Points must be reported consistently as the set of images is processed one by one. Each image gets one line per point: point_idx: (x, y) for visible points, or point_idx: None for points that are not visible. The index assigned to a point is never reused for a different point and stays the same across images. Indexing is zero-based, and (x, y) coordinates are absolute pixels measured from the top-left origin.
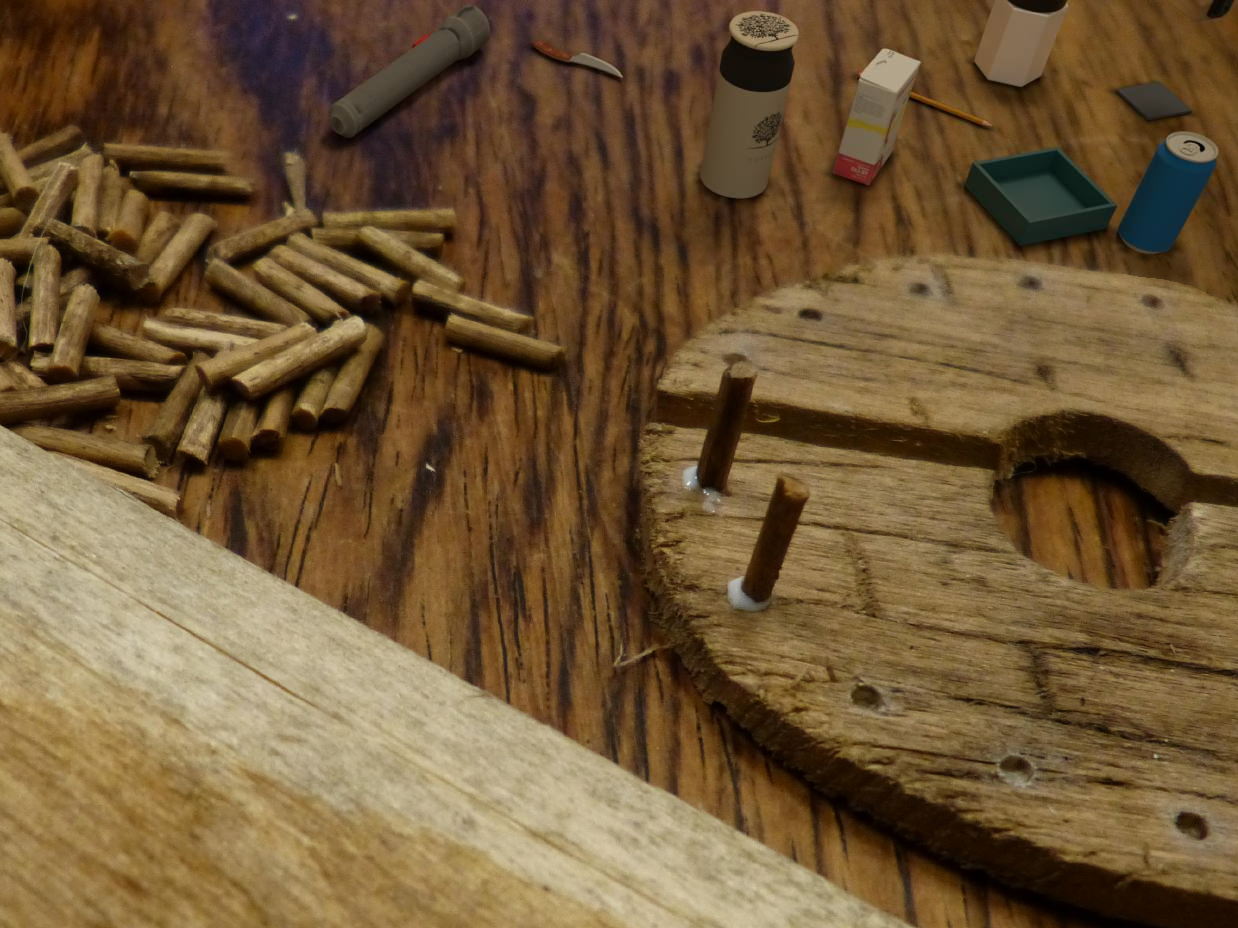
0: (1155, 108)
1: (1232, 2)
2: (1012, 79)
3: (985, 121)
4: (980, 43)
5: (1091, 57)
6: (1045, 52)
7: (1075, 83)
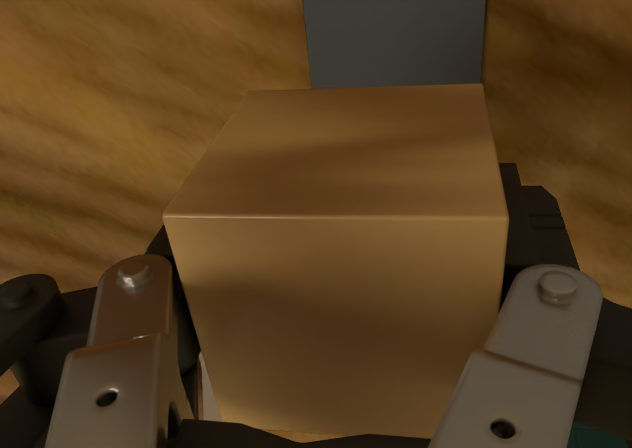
0: (440, 68)
1: (563, 232)
2: None
3: None
4: None
5: (135, 80)
6: None
7: None
